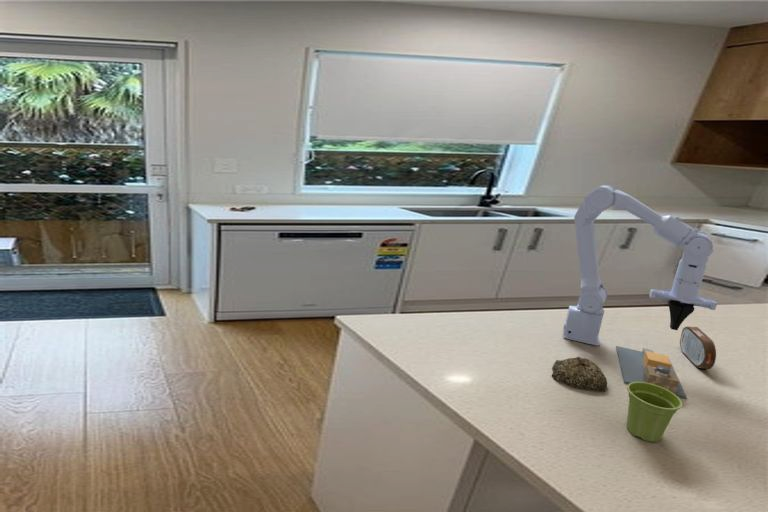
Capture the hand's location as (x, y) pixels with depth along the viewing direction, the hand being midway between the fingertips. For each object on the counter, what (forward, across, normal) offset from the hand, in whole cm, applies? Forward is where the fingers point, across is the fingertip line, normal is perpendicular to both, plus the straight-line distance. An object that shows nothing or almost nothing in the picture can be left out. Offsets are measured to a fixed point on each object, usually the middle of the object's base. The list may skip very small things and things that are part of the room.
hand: (673, 328), depth 118 cm
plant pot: (+10, -10, -38) cm, 41 cm away
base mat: (+10, -5, -8) cm, 14 cm away
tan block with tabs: (+10, -4, -10) cm, 14 cm away
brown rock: (+10, -22, -21) cm, 32 cm away
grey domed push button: (+9, -4, -17) cm, 19 cm away
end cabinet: (+10, -4, -16) cm, 20 cm away
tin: (+10, +8, +6) cm, 14 cm away
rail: (+10, -4, -6) cm, 13 cm away
